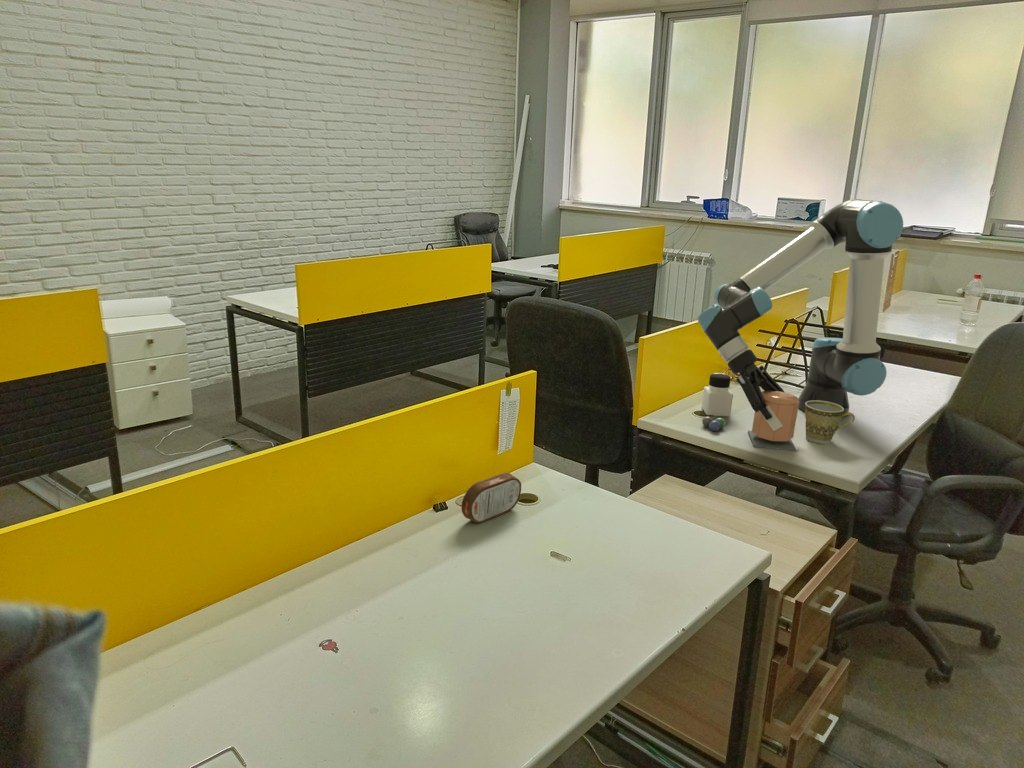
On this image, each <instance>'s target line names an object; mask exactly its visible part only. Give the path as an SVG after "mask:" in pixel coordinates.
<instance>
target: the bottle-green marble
mask: <svg viewBox="0 0 1024 768" xmlns="http://www.w3.org/2000/svg"><path fill="white" fill-rule="evenodd" d="M714 421H718V422H719V424H720V428H719V429H722V428H724V427H725V425H726V422H725V419H724V418H722V417H717V418H716V419H714Z"/></svg>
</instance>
